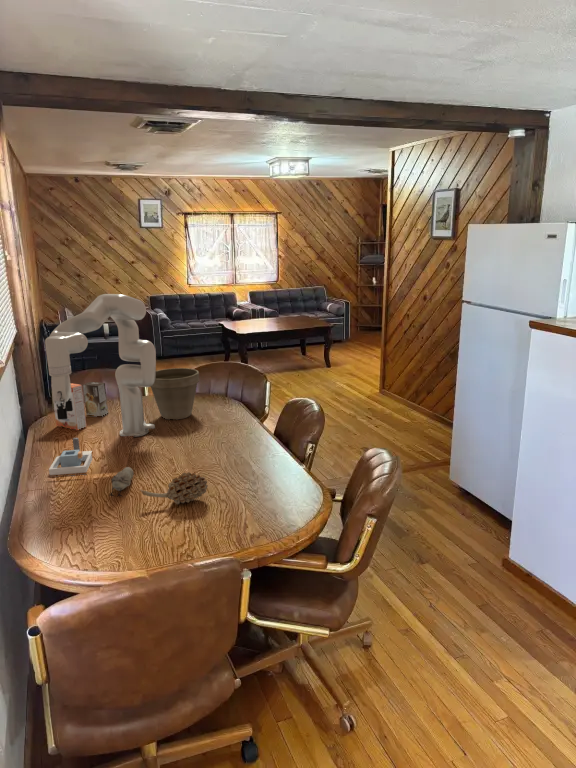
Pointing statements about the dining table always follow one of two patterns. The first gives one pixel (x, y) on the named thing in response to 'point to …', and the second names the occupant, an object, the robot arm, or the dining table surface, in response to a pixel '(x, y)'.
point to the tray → (69, 470)
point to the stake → (76, 446)
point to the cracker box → (74, 410)
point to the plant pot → (175, 392)
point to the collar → (71, 458)
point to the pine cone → (183, 488)
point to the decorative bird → (122, 480)
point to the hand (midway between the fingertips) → (65, 414)
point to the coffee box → (95, 398)
